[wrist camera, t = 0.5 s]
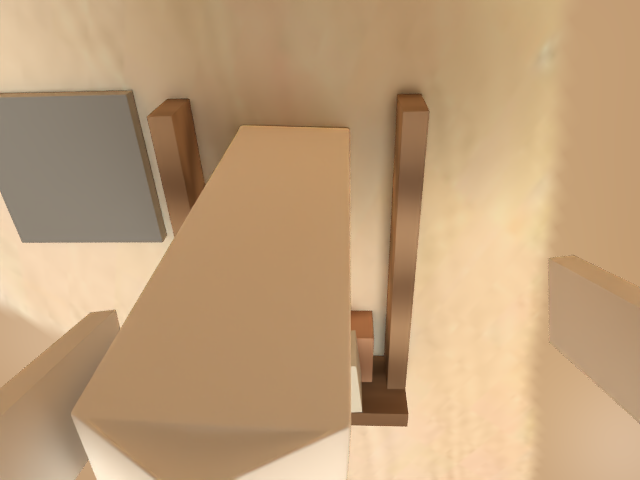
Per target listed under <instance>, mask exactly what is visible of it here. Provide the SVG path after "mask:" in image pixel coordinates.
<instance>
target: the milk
mask: <svg viewBox="0 0 640 480" xmlns="http://www.w3.org/2000/svg"><path fill="white" fill-rule="evenodd" d="M71 416H72V419H73V422H74V424H75V427H76V429H77V432H78V434H79V437H80V439H81V442H82V444H83V447H84V449H85V452H86V454H87V456H88V459H89V461H90V464H91V466H92V469H93V471H94V474H95V476H96V479H97V480H347V476H348V462H349V449H350V435H351V289H350V130H349V129H348V128H322V127H288V126H254V125H242V126H241V127H240V128H239V130H238V131H237V133H236V135H235V137H234V138H233V140H232V142H231V143H230V145H229V147H228V148H227V150H226V152H225V153H224V155H223V157H222V158H221V160H220V162H219V164H218V165H217V167H216V169H215V170H214V172H213V174H212V175H211V177H210V179H209V180H208V182H207V184H206V185H205V187H204V189H203V190H202V192H201V194H200V196H199V197H198V199H197V201H196V202H195V204H194V206H193V207H192V209H191V211H190V212H189V214H188V216H187V217H186V219H185V221H184V222H183V224H182V226H181V228H180V229H179V231H178V233H177V234H176V236H175V238H174V239H173V241H172V243H171V244H170V246H169V248H168V249H167V251H166V253H165V254H164V256H163V258H162V260H161V261H160V263H159V265H158V266H157V268H156V270H155V271H154V273H153V275H152V276H151V278H150V280H149V281H148V283H147V285H146V287H145V288H144V290H143V292H142V293H141V295H140V297H139V298H138V300H137V302H136V303H135V305H134V307H133V308H132V310H131V312H130V313H129V315H128V317H127V319H126V320H125V322H124V324H123V325H122V327H121V329H120V330H119V332H118V334H117V335H116V337H115V339H114V340H113V342H112V344H111V345H110V347H109V349H108V351H107V352H106V354H105V356H104V357H103V359H102V361H101V362H100V364H99V366H98V367H97V369H96V371H95V372H94V374H93V376H92V378H91V379H90V381H89V383H88V384H87V386H86V388H85V389H84V391H83V393H82V394H81V396H80V398H79V399H78V401H77V403H76V405H75V406H74V408H73V410H72V412H71Z"/></svg>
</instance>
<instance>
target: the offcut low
mask: <svg viewBox="0 0 640 480" xmlns="http://www.w3.org/2000/svg"><path fill="white" fill-rule="evenodd" d="M352 330H356V338H357V346H358V353H359V361H360V369H361V382H372V369H373V344H374V335H373V319H372V311H351V331H352Z"/></svg>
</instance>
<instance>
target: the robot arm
mask: <svg viewBox="0 0 640 480" xmlns="http://www.w3.org/2000/svg"><path fill="white" fill-rule="evenodd" d="M548 285H549V343H550V344H552V345H553V346H554V347H555V348H556V349H557V350H558V351H559V352H561V354H563V355H564V356H565V357H566V358H567V359H568V360H569V361H570V362H571V363H573V364H574V365H575V366H576V367H577V368H578V369H579V370H580V371H582V372H583V373H584V374H585V375H586V376H587V377H588V378H589V379H590V380H592V381H593V382H594V383H595V384H596V385H597V386H598V387H599V388H601V389H602V390H603V391H604V392H605V393H606V394H607V395H608V396H609V397H611V398H612V399H613V400H614V401H615V402H616V403H617V404H618V405H619V406H621V407H622V408H623V409H624V410H625V411H626V412H627V413H628V414H629V415H631V416H632V417H633V418H634V419H635V420H636V421H637V422H638V423H639V424H640V287H639V286H637V285H635V284H633V283H631V282H629V281H627V280H625V279H623V278H620V277H618V276H616V275H614V274H612V273H610V272H608V271H606V270H604V269H602V268H600V267H598V266H595V265H593V264H591V263H589V262H587V261H585V260H583V259H581V258H579V257H577V256H575V255H571V256H561V257H553V258H548ZM119 330H120V326H119V322H118V318H117V313H116V310H108V311H100V312H91V313H90V314H88V315H87V316H86V317H85V318H84V319H82V320H81V321H80V322H79V323H78V324H76V325H75V326H74V327H73V328H72V329H70V330H69V331H68V332H67V333H66V334H64V335H63V336H62V337H61V338H60V339H58V340H57V341H56V342H55V343H54V344H52V345H51V346H50V347H49V348H48V349H46V350H45V351H44V352H43V353H42V354H40V356H38V357H37V358H36V359H34V361H32V362H31V363H30V364H29V365H27V366H26V367H25V368H24V369H23V370H21V371H20V372H19V373H18V374H17V375H15V376H14V377H13V378H12V379H11V380H10V381H8V382H7V383H6V384H5V385H3V386H2V387H1V388H0V480H75V479H76V478H77V476H78V474H79V473H80V472H81V470H82V469H83V467H84V466H85V464H86V463H87V461H88V460H89V459H88V456H87V454H86V452H85V449H84V447H83V444H82V442H81V439H80V437H79V434H78V432H77V429H76V427H75V424H74V422H73V419H72V416H71V412H72V410H73V408H74V406H75V405H76V403H77V401H78V399H79V398H80V396H81V394H82V393H83V391H84V389H85V388H86V386H87V384H88V383H89V381H90V379H91V378H92V376H93V374H94V372H95V371H96V369H97V367H98V366H99V364H100V362H101V361H102V359H103V357H104V356H105V354H106V352H107V351H108V349H109V347H110V345H111V344H112V342H113V340H114V339H115V337H116V335H117V334H118V332H119Z"/></svg>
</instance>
